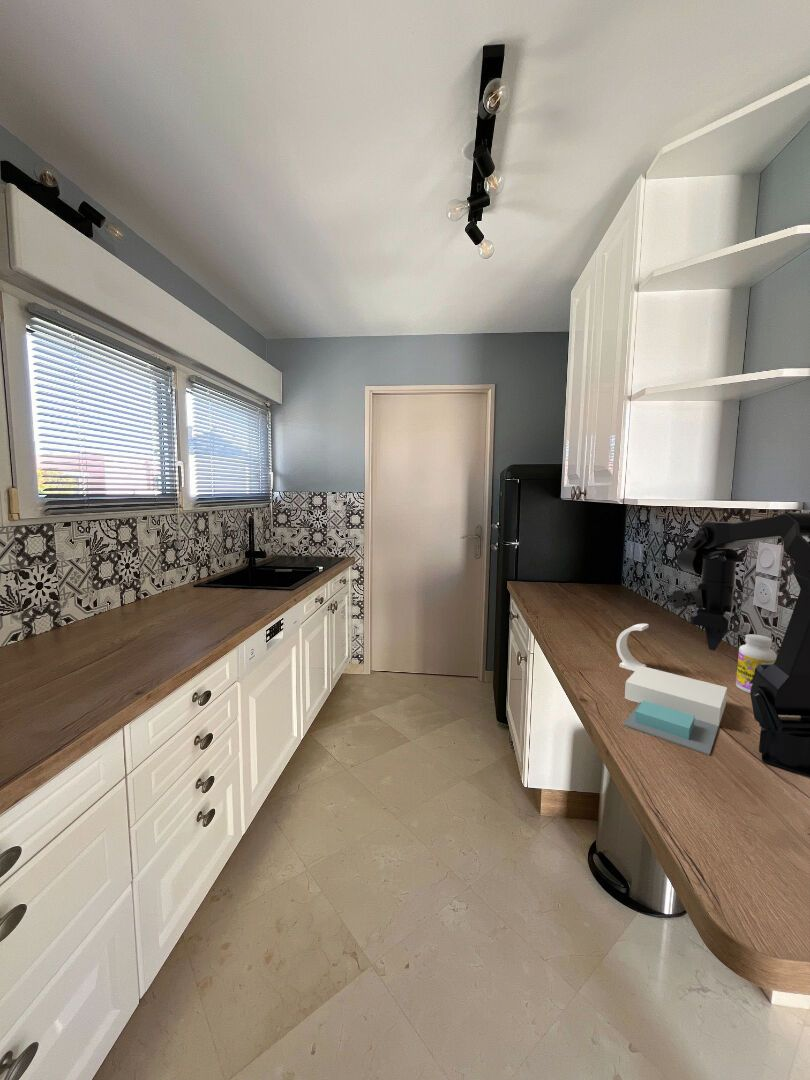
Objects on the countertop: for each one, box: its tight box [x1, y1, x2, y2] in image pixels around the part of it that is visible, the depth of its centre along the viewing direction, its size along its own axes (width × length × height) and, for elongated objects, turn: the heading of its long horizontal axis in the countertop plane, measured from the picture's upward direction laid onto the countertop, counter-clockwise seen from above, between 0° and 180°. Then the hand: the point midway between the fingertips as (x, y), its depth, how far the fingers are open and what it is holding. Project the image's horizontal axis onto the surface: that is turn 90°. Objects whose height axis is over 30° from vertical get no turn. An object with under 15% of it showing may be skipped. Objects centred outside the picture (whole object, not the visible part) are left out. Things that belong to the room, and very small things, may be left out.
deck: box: [624, 666, 728, 727], centre depth 91 cm, size 17×12×4 cm
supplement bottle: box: [735, 633, 777, 694], centre depth 96 cm, size 7×7×13 cm
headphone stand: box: [615, 623, 650, 672], centre depth 109 cm, size 5×6×12 cm
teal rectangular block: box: [635, 701, 695, 740], centre depth 82 cm, size 9×6×2 cm, turn 47°
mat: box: [622, 702, 720, 756], centre depth 81 cm, size 14×12×1 cm
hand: (712, 649), depth 90 cm, fingers closed
